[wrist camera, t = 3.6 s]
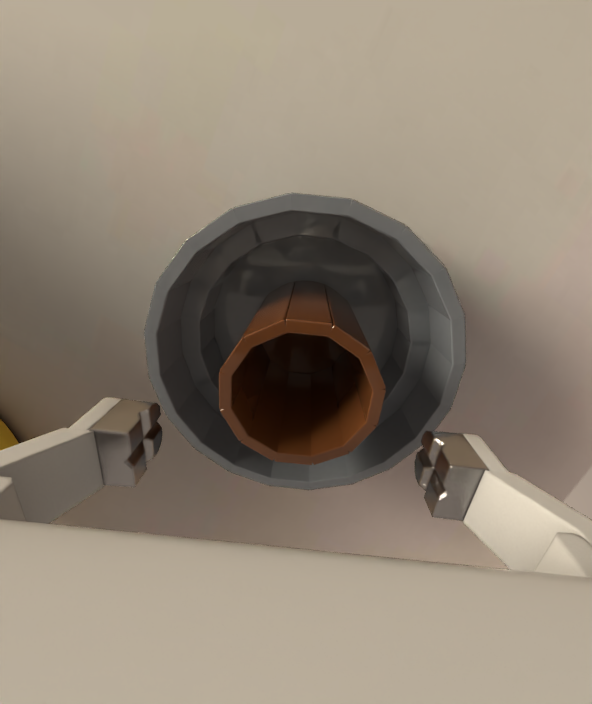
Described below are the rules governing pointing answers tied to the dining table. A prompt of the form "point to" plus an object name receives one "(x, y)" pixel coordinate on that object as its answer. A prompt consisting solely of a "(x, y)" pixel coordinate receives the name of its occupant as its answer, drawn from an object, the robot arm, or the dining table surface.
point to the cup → (302, 378)
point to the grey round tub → (324, 267)
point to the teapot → (6, 437)
